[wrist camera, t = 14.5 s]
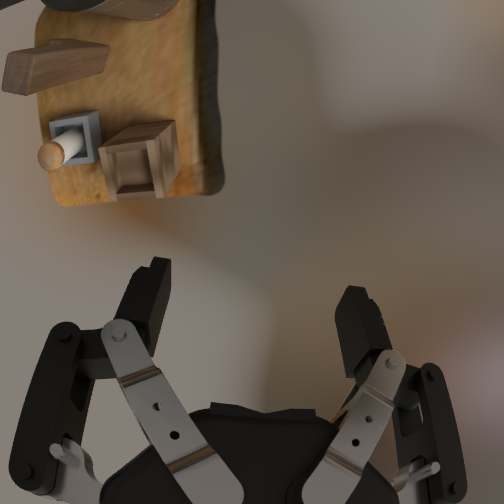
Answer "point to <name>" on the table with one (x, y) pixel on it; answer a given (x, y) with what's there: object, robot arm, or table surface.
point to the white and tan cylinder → (61, 148)
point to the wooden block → (52, 65)
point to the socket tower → (141, 161)
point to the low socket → (90, 131)
